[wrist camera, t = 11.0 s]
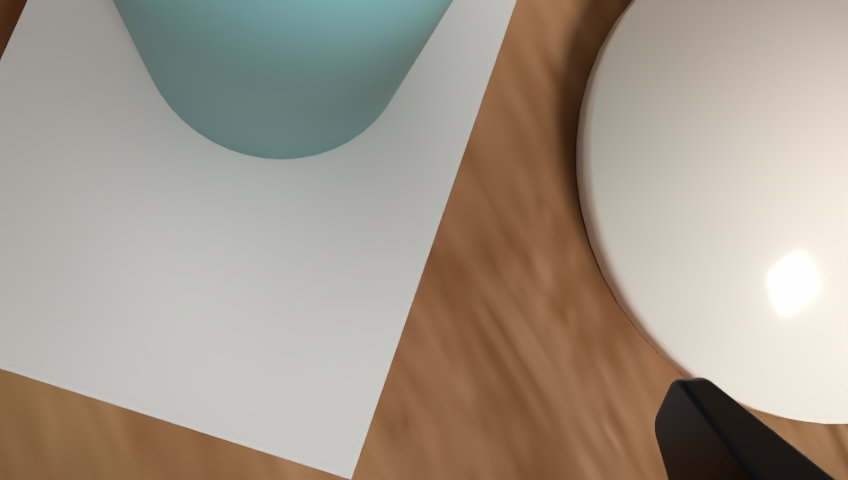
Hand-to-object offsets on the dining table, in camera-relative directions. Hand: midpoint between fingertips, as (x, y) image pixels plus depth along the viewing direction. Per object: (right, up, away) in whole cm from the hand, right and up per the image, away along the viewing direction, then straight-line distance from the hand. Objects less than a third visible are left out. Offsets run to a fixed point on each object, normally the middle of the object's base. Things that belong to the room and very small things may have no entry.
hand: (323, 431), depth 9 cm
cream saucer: (+11, +4, +12) cm, 17 cm away
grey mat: (-3, +5, +9) cm, 10 cm away
